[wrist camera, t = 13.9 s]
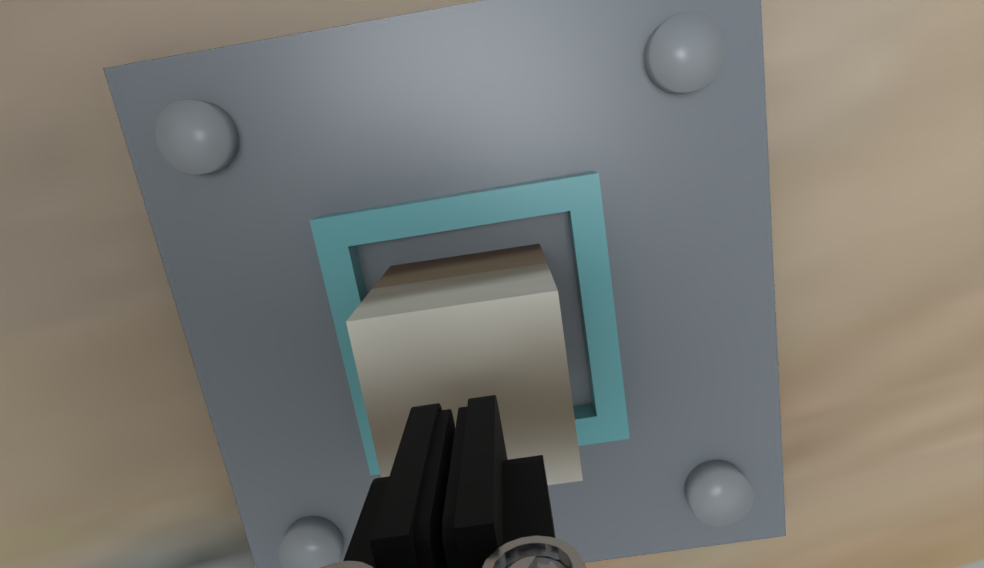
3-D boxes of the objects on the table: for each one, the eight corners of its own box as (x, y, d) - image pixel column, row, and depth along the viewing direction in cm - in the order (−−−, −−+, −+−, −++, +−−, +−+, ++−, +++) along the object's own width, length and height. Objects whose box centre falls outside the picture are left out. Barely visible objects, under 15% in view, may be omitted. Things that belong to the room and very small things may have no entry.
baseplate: (123, 71, 19) (81, 64, 17) (744, -40, 18) (774, -60, 16) (276, 585, 24) (257, 625, 22) (773, 518, 23) (799, 554, 21)
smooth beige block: (390, 265, 20) (345, 322, 14) (539, 243, 19) (557, 290, 14) (417, 402, 21) (387, 506, 15) (558, 383, 21) (582, 480, 15)
